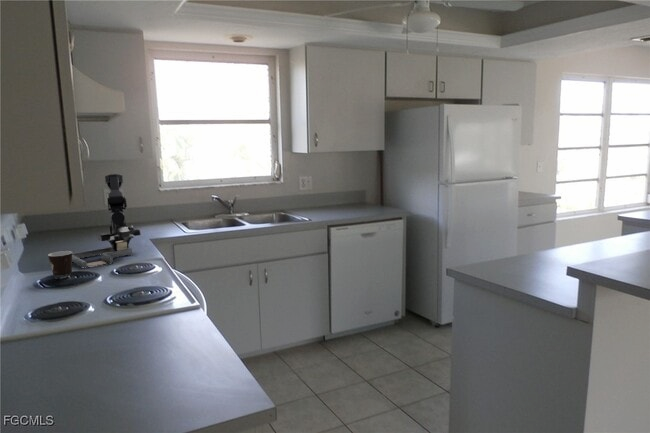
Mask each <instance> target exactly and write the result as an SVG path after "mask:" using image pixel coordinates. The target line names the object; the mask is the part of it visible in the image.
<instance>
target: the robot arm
mask: <svg viewBox="0 0 650 433" xmlns="http://www.w3.org/2000/svg"><path fill="white" fill-rule="evenodd" d="M104 180H105V181H104V182H105V184H106V186H107V187H106V188H107V189H108V190H109V191H110V192H109V193H108V197H107V207H108V211H110V217H111V221H110V225H109V233H108V232H103V233H98V234H97V240H98V241H101V242H105V241H107V242H109V244H110V246H111V247H113V249H114V251H117V248H116V242H117V241H126V242H127V249H129V247H130V246H129V245H130V242H131V240H132V239H134V237H136V236H141V230H140V229H138V228H135V227H134V226H133V225H130V226H129V225H128V224H127V223H126V219H125V211H124V210H126V208H127V207H128V206H127V205H128V204H127V199H126V197H125V196H124V194H123V192H122V191H121V189H122V186H123V185H122V184H123V183H124V180H123V175H121V174H120V173H119V174H118V173H110V174H107V175H105V176H104Z"/></svg>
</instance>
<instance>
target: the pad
mask: <svg viewBox="0 0 650 433" xmlns="http://www.w3.org/2000/svg"><path fill="white" fill-rule="evenodd" d="M103 263H107V262H105V261H103V260H99V261H93V262H88V263H87V262H86V264H87V265H97V264H103Z"/></svg>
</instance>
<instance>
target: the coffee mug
mask: <svg viewBox="0 0 650 433" xmlns="http://www.w3.org/2000/svg"><path fill="white" fill-rule="evenodd" d="M72 253H73V251H70V250H62V251H61V250H60V251H55V252H51V253H49V254H48V255H47V256H48V260H49V264H50V267H51V270H52V275H65V274H70V273H72V274H73V263H72Z"/></svg>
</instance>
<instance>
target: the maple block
mask: <svg viewBox="0 0 650 433" xmlns="http://www.w3.org/2000/svg"><path fill="white" fill-rule="evenodd" d="M116 248H117V251H119V250H124V249H128V248H127V242H126V241H117V242H116Z"/></svg>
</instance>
